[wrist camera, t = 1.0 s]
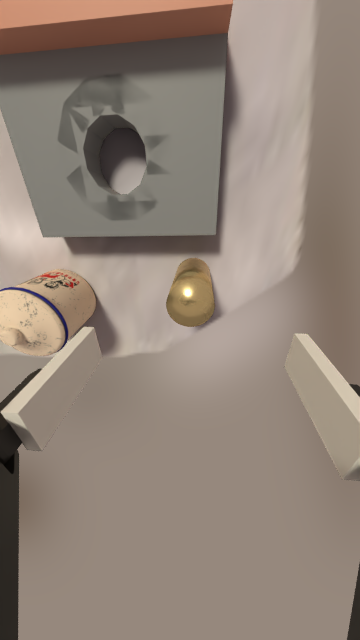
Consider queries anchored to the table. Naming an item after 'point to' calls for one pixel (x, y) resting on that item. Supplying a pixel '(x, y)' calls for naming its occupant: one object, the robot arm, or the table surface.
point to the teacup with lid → (45, 311)
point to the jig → (116, 110)
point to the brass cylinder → (191, 294)
